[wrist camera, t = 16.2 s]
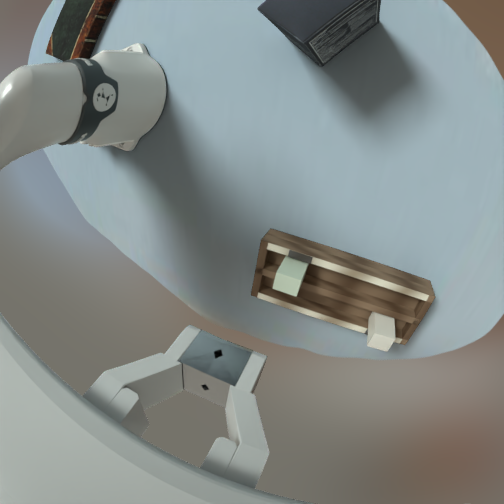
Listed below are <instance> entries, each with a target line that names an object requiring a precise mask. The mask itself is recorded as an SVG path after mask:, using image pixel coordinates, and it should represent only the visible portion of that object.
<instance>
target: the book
mask: <svg viewBox="0 0 504 504" xmlns="http://www.w3.org/2000/svg"><path fill="white" fill-rule="evenodd" d="M115 1H116V0H66V1H65V4H64V6H63V8H62V10H61V12H60V15H59V17H58V19H57V22H56V24H55V27H54V29H53V32H52V35H51V37H50V40H49V43H48V46H47V50H46V54H49V55H51V56H54V57H56V58H58V59H61V60H63V61H66V60H69V59H75V58H83V59H84V58H85V59H90V57H91V54H92V51H93V49H94V46H95V44H96V41H97V39H98V36H99V34H100V32H101V30H102V27H103V25H104V23H105V21H106V19H107V17H108V15H109V13H110V11H111V9H112V7H113V5H114V3H115Z"/></svg>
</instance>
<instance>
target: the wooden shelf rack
mask: <svg viewBox="0 0 504 504" xmlns="http://www.w3.org/2000/svg"><path fill="white" fill-rule="evenodd" d="M285 256H288V257H291V258H294V259H298V260H301V261H304V262H307V263H309V264H308V268H307V271H306V274H305V277H304V279H303V282H302V284H301V287H300V289H299V292H298V294H297V296H293V295H290V294H287V293H284V292H281V291H278V290H275V289H272V288H273V284H274V280H275V276H276V272H277V270H278V269H279V267H280V265H281V263H282V262H283V260H284V258H285ZM251 295H252V296H255V297H257V298H260V299H262V300H265V301H268V302H271V303H274V304H277V305H279V306H282V307H285V308H288V309H291V310H294V311H297V312H300V313H303V314H306V315H309V316H312V317H315V318H318V319H321V320H324V321H327V322H330V323H333V324H336V325H339V326H342V327H346V328H349V329H352V330H355V331H358V332H362V333H365V334H367V335H368V321H369V317H370V315H371V313H372V311H373V312H376V313H379V314H383V315H386V316H389V317H392V318H394V322H395V341H394V342H395V343H399V344H403V345H405V344H406V343H407V341H408V340H409V338H410V337H411V336H412V334H413V333H414V331H415V329H416V328H417V326H418V325H419V323H420V322H421V320H422V319H423V317H424V315H425V314H426V312H427V310H428V309H429V307H430V305H431V304H432V302H433V300H434V298H435V295H434V291H433V288H432V285H431V282H430V281H429V280H426V279H424V278H421V277H418V276H415V275H412V274H409V273H407V272H404V271H401V270H398V269H395V268H392V267H389V266H386V265H383V264H380V263H377V262H374V261H371V260H368V259H365V258H362V257H359V256H356V255H353V254H350V253H347V252H344V251H341V250H338V249H335V248H332V247H329V246H325V245H322V244H319V243H316V242H313V241H310V240H307V239H303V238H300V237H297V236H294V235H290V234H287V233H284V232H281V231H277V230H274V229H270V230H269V231H268V232H267V234H266V235H265V236H264V237H263V238H262V239H261V243H260V249H259V254H258V259H257V265H256V270H255V276H254V281H253V286H252V292H251Z"/></svg>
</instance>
